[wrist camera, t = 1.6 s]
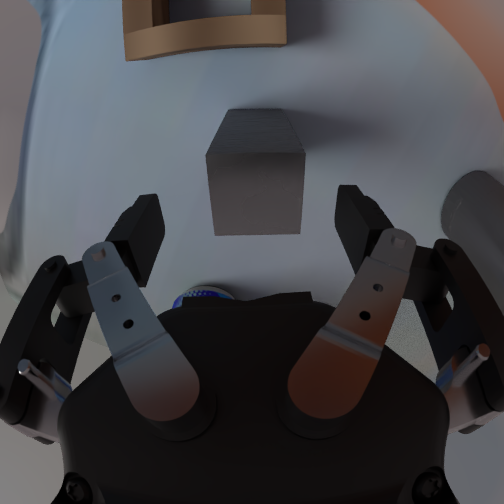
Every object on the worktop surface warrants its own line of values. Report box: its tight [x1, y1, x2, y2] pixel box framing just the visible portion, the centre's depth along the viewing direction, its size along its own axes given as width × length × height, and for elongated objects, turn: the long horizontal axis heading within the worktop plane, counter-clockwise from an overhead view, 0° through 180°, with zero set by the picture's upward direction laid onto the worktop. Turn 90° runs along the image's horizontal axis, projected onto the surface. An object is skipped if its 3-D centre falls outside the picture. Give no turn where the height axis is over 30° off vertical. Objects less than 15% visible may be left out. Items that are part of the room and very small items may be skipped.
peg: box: [206, 109, 306, 236], centre depth 16 cm, size 4×4×11 cm
